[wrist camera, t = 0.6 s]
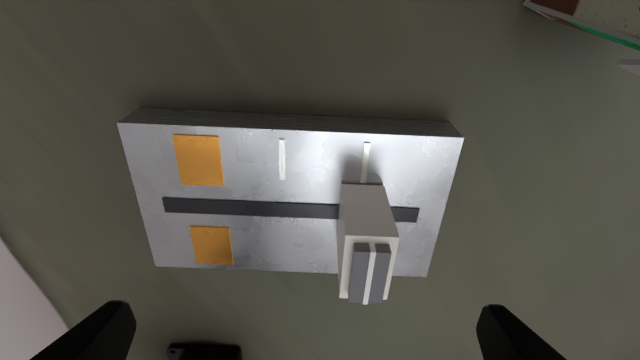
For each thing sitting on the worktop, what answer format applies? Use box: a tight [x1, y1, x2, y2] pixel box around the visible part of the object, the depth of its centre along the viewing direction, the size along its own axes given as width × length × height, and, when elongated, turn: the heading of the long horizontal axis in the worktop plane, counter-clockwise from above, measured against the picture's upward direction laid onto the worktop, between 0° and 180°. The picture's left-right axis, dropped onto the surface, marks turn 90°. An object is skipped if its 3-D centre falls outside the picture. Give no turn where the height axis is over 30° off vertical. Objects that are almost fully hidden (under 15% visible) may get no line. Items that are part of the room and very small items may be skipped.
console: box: [117, 108, 464, 277], centre depth 21 cm, size 10×18×3 cm, turn 88°
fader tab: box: [337, 184, 400, 305], centre depth 18 cm, size 4×2×5 cm, turn 178°
